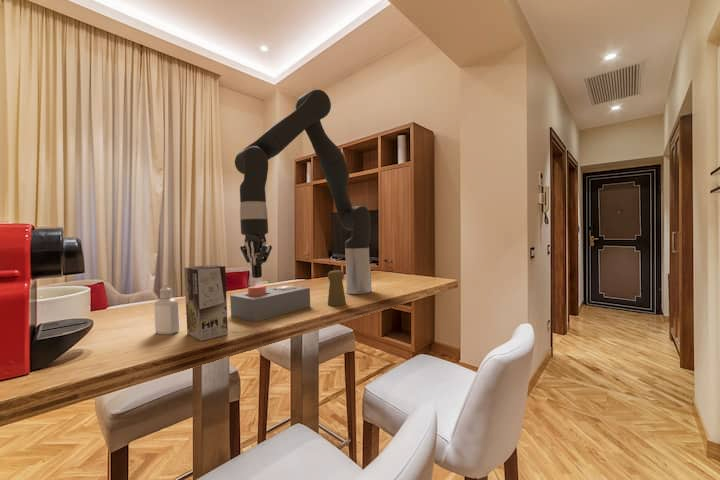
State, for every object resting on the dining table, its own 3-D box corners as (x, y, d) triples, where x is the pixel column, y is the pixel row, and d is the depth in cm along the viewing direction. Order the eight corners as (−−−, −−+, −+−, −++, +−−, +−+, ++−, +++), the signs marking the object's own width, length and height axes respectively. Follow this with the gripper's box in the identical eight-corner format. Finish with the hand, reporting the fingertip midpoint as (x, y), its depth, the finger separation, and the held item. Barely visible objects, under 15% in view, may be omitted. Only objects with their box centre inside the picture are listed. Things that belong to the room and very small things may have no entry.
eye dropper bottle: (159, 337, 71) (157, 286, 71) (154, 332, 75) (152, 283, 75) (180, 332, 74) (178, 283, 74) (174, 328, 78) (172, 281, 78)
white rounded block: (286, 303, 100) (286, 285, 100) (297, 305, 97) (296, 286, 97) (274, 306, 96) (273, 287, 96) (284, 308, 93) (283, 289, 93)
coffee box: (229, 334, 72) (226, 266, 71) (200, 342, 67) (197, 268, 67) (213, 327, 78) (211, 264, 78) (186, 333, 73) (183, 266, 73)
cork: (347, 301, 102) (346, 269, 102) (344, 306, 96) (343, 271, 96) (329, 302, 103) (328, 269, 103) (325, 306, 97) (324, 271, 97)
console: (286, 302, 104) (285, 284, 104) (310, 306, 97) (309, 287, 97) (231, 315, 89) (230, 295, 89) (254, 322, 81) (253, 299, 81)
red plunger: (260, 305, 92) (259, 285, 92) (270, 307, 89) (269, 286, 89) (245, 308, 88) (244, 287, 88) (255, 310, 85) (254, 289, 85)
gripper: (278, 216, 87) (281, 277, 88) (252, 219, 95) (255, 274, 96) (255, 216, 81) (259, 281, 82) (229, 219, 90) (232, 278, 90)
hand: (257, 277), depth 89 cm, fingers closed
